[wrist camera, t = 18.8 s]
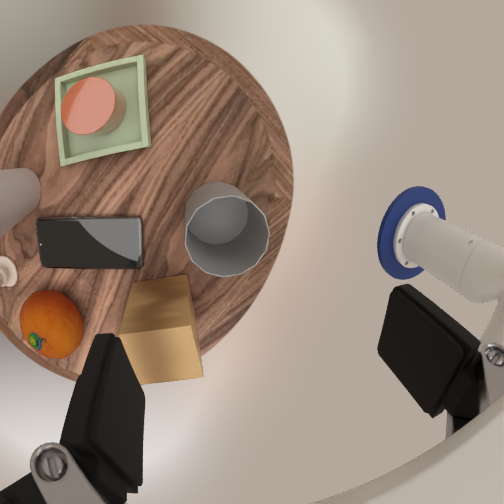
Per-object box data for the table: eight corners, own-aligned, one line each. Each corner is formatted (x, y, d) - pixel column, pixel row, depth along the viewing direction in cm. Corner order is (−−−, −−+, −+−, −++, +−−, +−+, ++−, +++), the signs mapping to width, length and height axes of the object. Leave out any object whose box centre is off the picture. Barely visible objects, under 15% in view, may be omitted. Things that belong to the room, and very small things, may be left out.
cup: (175, 232, 36) (173, 264, 27) (196, 172, 34) (200, 183, 25) (235, 250, 39) (251, 284, 30) (257, 194, 37) (282, 212, 28)
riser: (187, 274, 39) (191, 325, 28) (196, 320, 42) (203, 377, 31) (132, 282, 37) (118, 334, 26) (146, 327, 40) (140, 384, 30)
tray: (146, 60, 27) (143, 54, 24) (151, 146, 31) (149, 146, 29) (62, 81, 25) (54, 78, 22) (68, 164, 29) (60, 166, 27)
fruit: (82, 281, 35) (64, 311, 28) (94, 338, 39) (83, 372, 32) (25, 279, 33) (2, 305, 25) (41, 333, 36) (25, 363, 29)
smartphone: (143, 270, 36) (41, 268, 32) (144, 266, 37) (44, 265, 33) (142, 216, 33) (34, 218, 29) (143, 214, 34) (37, 216, 30)
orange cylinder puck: (125, 81, 27) (114, 70, 21) (128, 129, 29) (117, 127, 24) (78, 93, 26) (60, 86, 20) (81, 140, 28) (62, 141, 23)
